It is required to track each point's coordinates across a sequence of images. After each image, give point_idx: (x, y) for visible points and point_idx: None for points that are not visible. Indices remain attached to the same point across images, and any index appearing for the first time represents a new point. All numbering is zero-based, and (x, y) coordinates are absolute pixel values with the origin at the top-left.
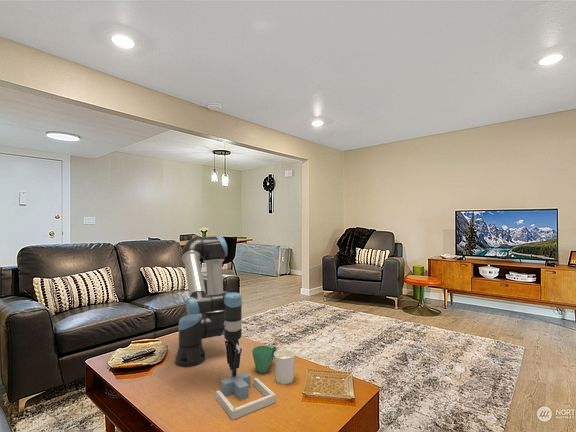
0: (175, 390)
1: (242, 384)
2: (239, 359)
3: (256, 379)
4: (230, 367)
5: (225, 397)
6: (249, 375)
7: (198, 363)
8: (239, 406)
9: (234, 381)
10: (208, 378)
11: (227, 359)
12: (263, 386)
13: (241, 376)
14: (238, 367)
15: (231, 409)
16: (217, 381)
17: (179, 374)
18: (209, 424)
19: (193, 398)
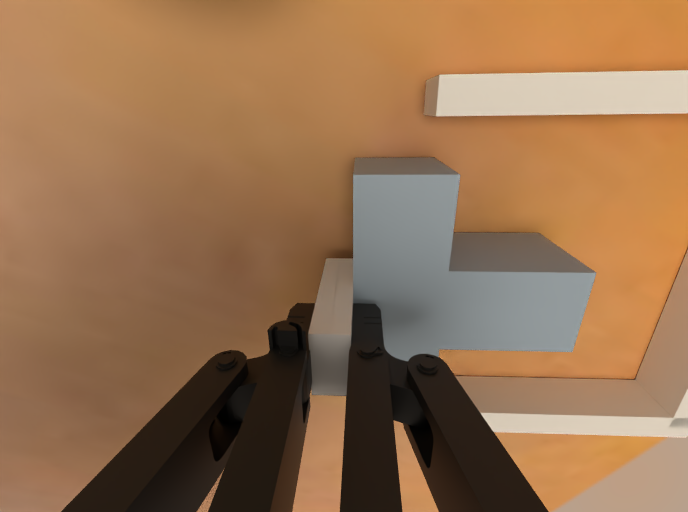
0: (206, 499)
1: (543, 311)
2: (531, 503)
3: (474, 97)
4: (313, 386)
5: (519, 414)
6: (443, 177)
7: None
8: (685, 389)
9: (443, 342)
10: (149, 352)
11: (213, 452)
12: (646, 102)
13: (406, 258)
14: (445, 373)
15: (663, 432)
16: (215, 322)
17: (39, 452)
18: (579, 476)
19: (326, 466)
